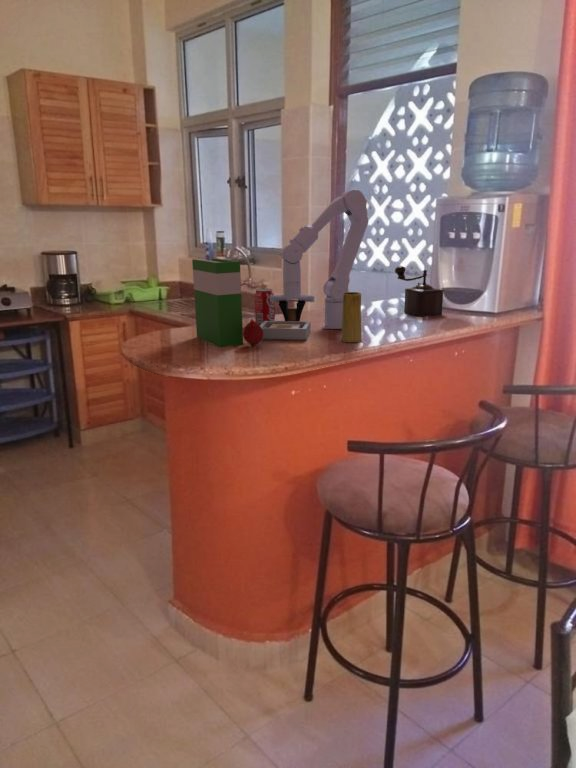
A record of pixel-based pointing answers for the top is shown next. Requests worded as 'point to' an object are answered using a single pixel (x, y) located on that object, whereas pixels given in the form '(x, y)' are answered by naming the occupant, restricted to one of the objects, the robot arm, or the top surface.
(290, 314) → the peg
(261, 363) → the top surface
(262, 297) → the soda can
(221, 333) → the green cereal box
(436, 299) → the manual coffee grinder
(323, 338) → the top surface
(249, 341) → the onion
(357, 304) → the vase
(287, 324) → the box
